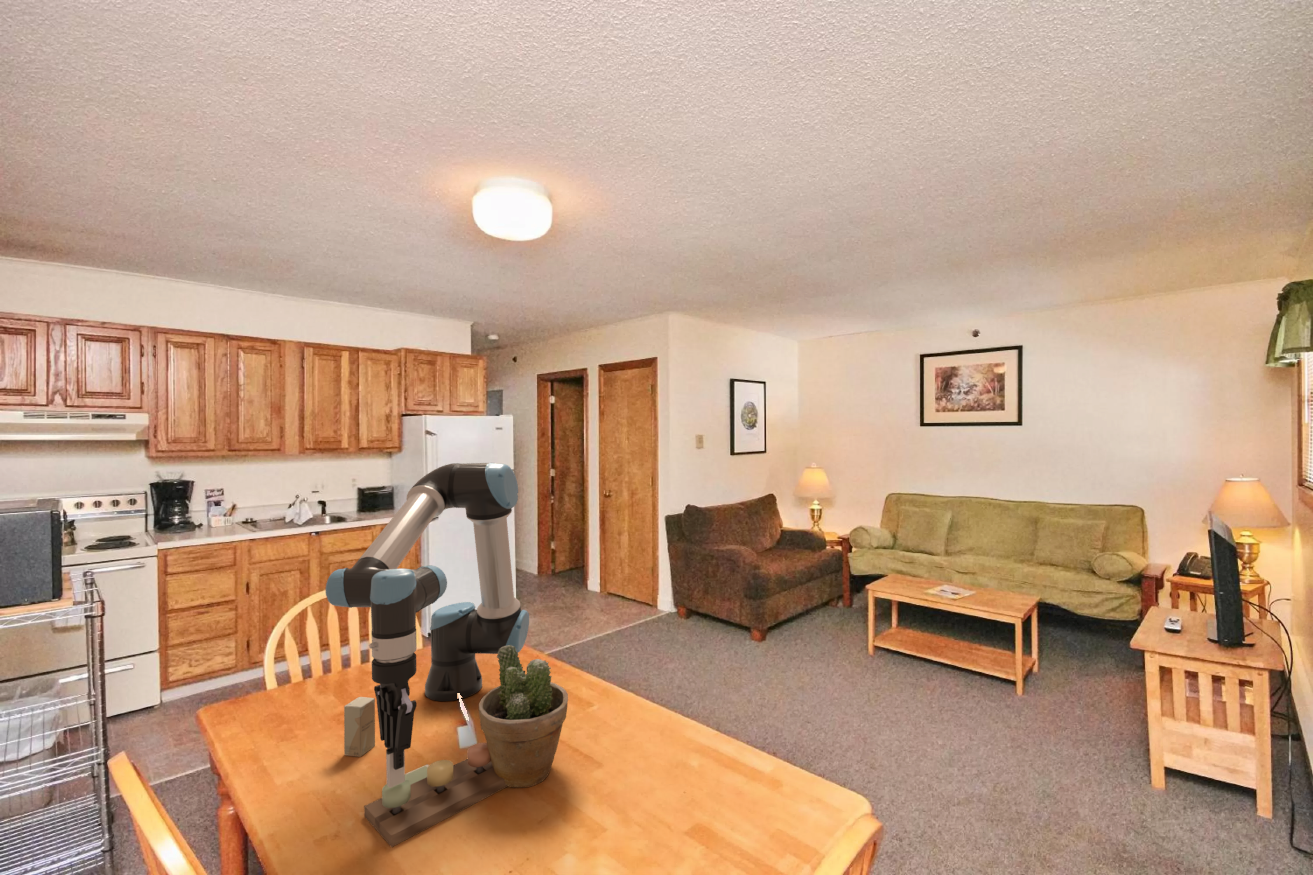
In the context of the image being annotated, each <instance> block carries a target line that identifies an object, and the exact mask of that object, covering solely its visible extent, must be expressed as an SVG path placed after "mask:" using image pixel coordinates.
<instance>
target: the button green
mask: <svg viewBox="0 0 1313 875" xmlns="http://www.w3.org/2000/svg"><path fill="white" fill-rule="evenodd" d="M410 797H411V785H410V781H409V780H407V779H405V782H403V783H400V784H398V785H396V786H394V787H391V788H389V787H388V786H387V783H386V784H384V785H383V787H382V789H381V798H382V805H383V806H384V807H387V808H393V814H397V813H399V812H400V811H401V805H403V804H405V803H407V802H408V801H409V799H410Z"/></svg>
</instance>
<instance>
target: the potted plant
mask: <svg viewBox="0 0 1313 875" xmlns="http://www.w3.org/2000/svg"><path fill="white" fill-rule="evenodd" d="M496 655H497V656H496V658H497V661H498V664H499V669H498V671H499V674H498V675H499V682H500V684H499V686H498V685H497V686H496V687H495V688H492V689H490V690H489V691H488V692H486V693H485V694H484V695H483V696H482V698H481V699H480V701H479V703H478V715H479V716H478V717H479V721H480V722H479V724H480V729H481V731H482V732H483V733H484V737H485V743H487V747H488V750H489V754H490V758H491V762H492V765H493V768H494V771H495V773H496V774H497V775H498V776H499V777H501V778H504V781H505V785H507V787H510V788H531V787H533V786H536V785H537V784H540V783H542V782H543V781H544V780H546V778H547V777H548V776H549V773H550V771H551V770H552V766H553V762H554V760H555V755H556V753H557V749H558V745H559V741H560V736H561V733H562V729H563V724H564V722H565V721H566V719H567V713H568V712H567V711H568V701H569V693H568V691H567V690H566V689H565V688H564V687H562V686H561V685H559V684H557V683H555V682H552V675H550V674H551V673H552V671H550V670H551V669H552V668H551V666H550V665H549V662H547V661H546V660H543V659H541V658H540V659H539V658H536V659H532V660H530V661H529V663H528V664H527V665H526V670H524V667H523V666H522V665H523V664H522V663H521V660H520V657H519V652H516V648H515V647H514V646H512V645H508V646H503V647H501V648H500V649H499V652H498V654H496Z"/></svg>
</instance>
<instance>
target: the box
mask: <svg viewBox="0 0 1313 875" xmlns="http://www.w3.org/2000/svg"><path fill="white" fill-rule="evenodd" d="M375 702H376V697H375V698H374V697H366V696H358V697H356V698H355V699H353V700H351V701H350V702H349V703H347V704H345V705H344V707H343V711H344V712H343V715H344V716H343V718H344V722H343V725H344V726H343V727H344V730H343V731H344V732H343V736H344V737H343V738H344V739H343V740H344V743H343V744H344V746H343V747H344V749H343V750H344V756H349V757H350V756H351V757H362V756H363V755H365V754H366V753H368V752H369V751H370V750H371V749H373V748H374V747H375V746H376V703H375Z"/></svg>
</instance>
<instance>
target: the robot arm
mask: <svg viewBox="0 0 1313 875" xmlns="http://www.w3.org/2000/svg"><path fill="white" fill-rule="evenodd" d="M518 494H519V485H518V480H517V477H516V474H515V472H514V470H513V469H512V467H510V465H508V464H506V463H495V462H479V463H478V462H475V463H474V462H471V463H470V462H469V463H468V462H466V463H458V462H457V463H448V464H445V465H442V466H439V467H436V469H433V470H431V471H430V472H429V473H427V474H426V475H424V476H423V477H422V478H420V479H419V480H418V481H417V482H416V483H414V485H412V487H411V488H410V489H409V491H407V494H406V501H405V502H404V503H403V504H402V506H401V507H400V508H399V509H398V511H397V512H396V513H395V514H394V515H393V517H392V518H391V520H389V521H388V523H387V524H386V525H385V527H384V528H383V529H382V530H381V532H380V533H379V534H378V535H377V537H376V538H375V539H374V540H372V543H371V544H370V545H369V546H368V548H367V549H366V550H365V551H364V553H363V554H362V555H361V556H360V558H358V560H357V561H356V562H355V563H354V565H353V566H352V567H350V568H349V567H344V568H339V569H336V570H334V571H333V572H331V574H330V575H329V577H328V578H327V581H326V583H325V596H326V599H327V601H328V603H329V604H331V605H332V606H334V607H342V608H370V614H371V615H370V618H371V642H370V643H369V645H368V646H369V649H371V658H373V659H372V660H371V679H372V682H375V683H376V684H377V685H374V687H373V690H374V694H375V700H376V709H377V718H378V726H379V727H378V728H379V736H380V737H379V738H380V741H381V742H382V741H383V742H384V744H383V745H384V747H385V748H386V750H385V753H386V756H385V759H386V763H385V765H386V768H385V769H386V784H387V786H388V787H389V788H391V787H394V786H396V785H398V784H400V783H403V782H405V774H406V773H405V771H406V766H405V765H406V762H405V750H408V749H410V748H411V746H412V736H413V729H414V717H415V712H416V709H417V706H418V705H417V701H416V700H415V699H414V700H411V698H410V697H409V696H410V692H411V691H410V686H409V681H410V679H411V678H413V677H414V676H415V675H416V673H417V654H416V651H417V625H416V623H417V622H416V621H417V620H416V619H417V615H416V614H417V613H418V612H420V611H422V610H423V609H424V608H427V607H428V606H430V605H432V604H434V603H436V602H437V601H438V600H439V599H440V598H441V597H442V596H443V595H444V594H445V592H446V590H447V587H448V579H447V576H446V574H445V572H444V571H443V570H442V569H441V568H440V567H438V566H436V565H425V566H420V567H418V568H416V569H410V568H398V567H399V566H400V565H401V563H402V562H403V561H404V559H405V558H406V557H407V556H408V554H409V553H410V551H411V549H412V548H413V547H414V545H415V544H416V543H417V541H418V540H419V538H420V537H421V536H422V534H423V533H424V531H425V530H426V528H428V526H429V525H430V523H431V522H432V521H433V519H434V518H436V517H437V518H438V517H439V516H441V515H442V514H443V512H444V511H445V510H447V509H455V508H456V509H465V513H466V514H465V515H466V518H467V519H468V520H470V521H471V522H472V524H473V531H474V532H473V534H474V543H475V551H476V560H477V570H478V579H479V586H480V588H479V589H480V596H481V603H480V604H479V605H478V606H477V607H476V605H475V604H474V603H473V602H470V601H464V602H463V601H462V602H457V603H451V604H448V605H445V606H443V607H440V608H438V609H436V610H435V611H433V613H432V614H431V617H430V627H429V630H430V656H431V660H430V661H431V664H430V668H429V670H428V671H429V672H428V675H427V677H426V681H425V685H424V695H425V697H427V699H429V700H432V701H437V702H449V701H450V702H452V701H458V700H457V693H460V695H461V696H462V697H463V698H462V699H465V698H469V697H470V696H473V695H475V694H476V693H478V692H479V691H481V690H482V688H483V676H482V673H481V671H480V670H481V669H480V668H479V664H478V662H477V660H476V654H478V655H479V654H481V655H482V654H483V655H484V654H486V655H487V654H488V655H491V654H492V655H498V652H499V649H500V648H501V647H503V646H508V645H512V646H514V647H515V648H516V652H518V653H520V652H521V651H522V649H523V648H524V646H525V644H526V640H527V636H528V631H529V625H530V613H529V611H528V610H526V609H521V608H522V606H521V601H520V600H519V599H517V598H516V597H515V594H514V583H513V582H514V581H513V573H512V561H511V548H510V540H509V538H510V537H509V530H508V517H509V516H510V515H511V513H512V512H513V509H512V508H515V506H516V505H517V504H518V500H519V495H518Z"/></svg>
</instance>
